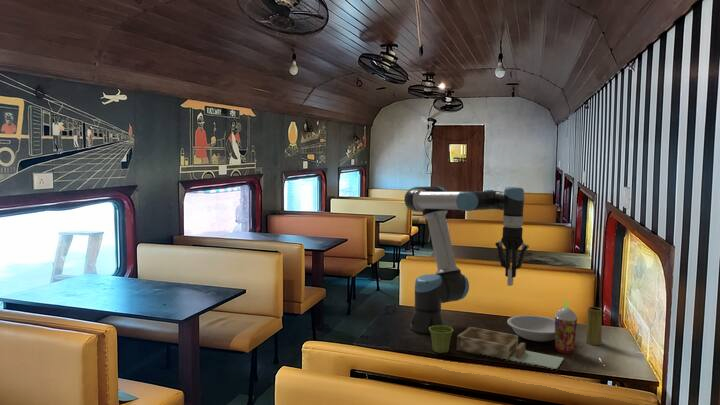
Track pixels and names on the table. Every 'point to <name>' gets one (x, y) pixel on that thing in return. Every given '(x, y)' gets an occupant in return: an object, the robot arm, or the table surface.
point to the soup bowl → (533, 327)
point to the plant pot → (440, 338)
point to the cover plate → (535, 358)
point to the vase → (594, 326)
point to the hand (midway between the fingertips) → (510, 284)
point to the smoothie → (565, 330)
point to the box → (487, 342)
